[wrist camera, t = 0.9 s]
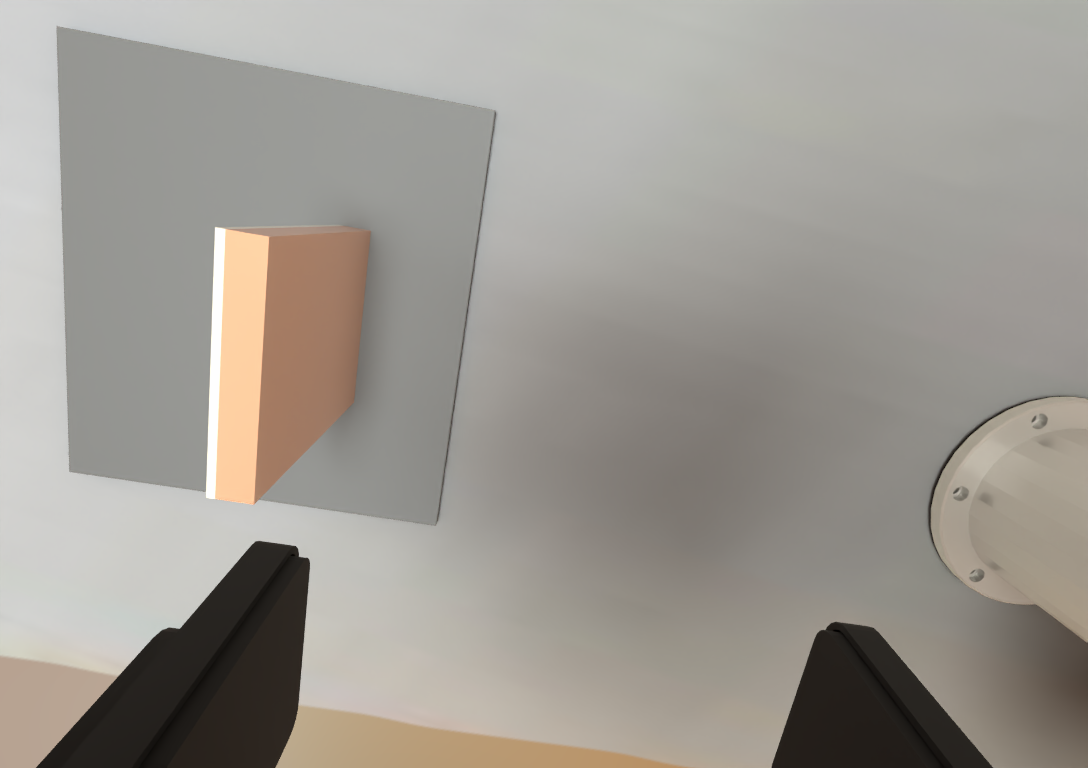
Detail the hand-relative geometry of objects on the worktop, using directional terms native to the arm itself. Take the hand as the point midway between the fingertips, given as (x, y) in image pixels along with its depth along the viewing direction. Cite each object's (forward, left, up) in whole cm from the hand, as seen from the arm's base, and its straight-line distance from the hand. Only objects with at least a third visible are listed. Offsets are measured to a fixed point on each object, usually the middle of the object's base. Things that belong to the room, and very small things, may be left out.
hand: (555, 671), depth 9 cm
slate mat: (+14, 0, -24) cm, 28 cm away
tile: (+10, 0, -23) cm, 25 cm away
